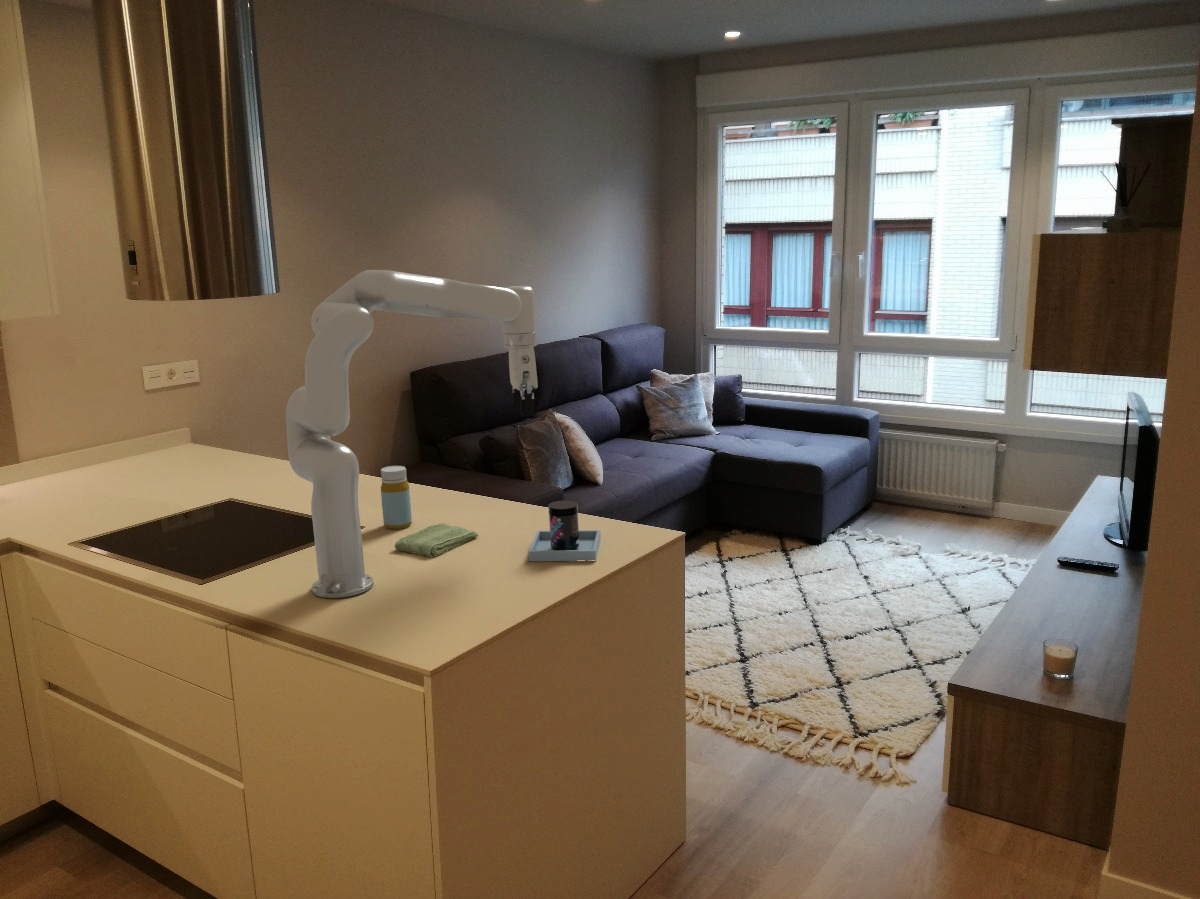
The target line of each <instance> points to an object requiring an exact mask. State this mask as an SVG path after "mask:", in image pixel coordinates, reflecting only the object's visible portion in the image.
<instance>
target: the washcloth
mask: <svg viewBox="0 0 1200 899" xmlns="http://www.w3.org/2000/svg"><path fill="white" fill-rule="evenodd" d="M478 537H479V533H478V532H476V531H474V530H473V529H472V530H471V529H468V528H464V527H461V526H458V525H453V526H452V525H449V524H447V523H444V522H443V523H441V522H440V523H438V524H433V525H430V526H426V528H424V529H423V528H422V529H421V530H419V531H417V532H414V533H411V534H408V535H406V536H403V537H401V538H399V539H398V540H397V541H396V542H395V544H394V548H395V550H396V551H398V550H400V551H399V552H404V551H405V553H408V552H409V553H408V554H417V555H419V556H424V557H427V556H428V557H427V558H434V557H433V556H435V555H437V556H440V555H442V554H445V553H447V552H448V551H451V550H453V549H455V548H457V547H459V546H460V544H461V545H463V544H465V543H467V542H469V541H471V540H474V539H476V538H478ZM464 542H465V543H464ZM458 545H459V546H458ZM456 546H457V547H456ZM454 547H455V548H454ZM452 548H453V549H452ZM450 549H451V550H450ZM447 550H448V551H447ZM446 551H447V552H446ZM444 552H445V553H444ZM435 557H436V556H435Z"/></svg>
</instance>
